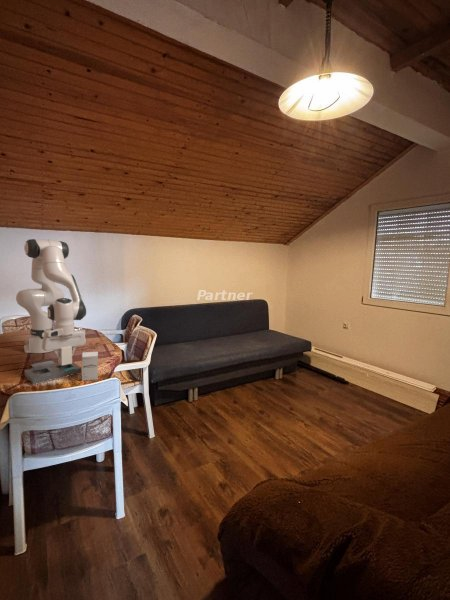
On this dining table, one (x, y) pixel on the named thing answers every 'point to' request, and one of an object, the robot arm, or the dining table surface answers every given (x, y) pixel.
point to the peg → (65, 356)
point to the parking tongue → (42, 364)
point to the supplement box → (89, 366)
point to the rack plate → (51, 372)
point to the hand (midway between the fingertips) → (65, 356)
